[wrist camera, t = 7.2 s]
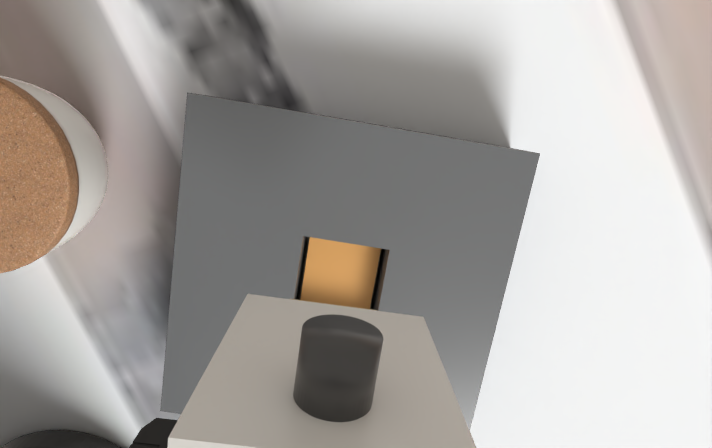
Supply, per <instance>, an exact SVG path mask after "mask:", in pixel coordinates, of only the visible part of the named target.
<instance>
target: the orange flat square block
mask: <svg viewBox="0 0 712 448" xmlns="http://www.w3.org/2000/svg"><path fill="white" fill-rule="evenodd" d="M380 252H381V248H375V247H369V246H362V245H356V244H350V243H344V242H337V241H331V240H325V239H319V238H312V237H310V239H309V245H308V252H307V259H306V265H305V272H304V279H303V285H302V292H301V298H300V300H304V301H312V302H319V303H327V304H335V305H342V306H350V307H357V308H365V309H370V305H371V300H372V294H373V289H374V284H375V278H376V273H377V268H378V262H379V257H380Z"/></svg>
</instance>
